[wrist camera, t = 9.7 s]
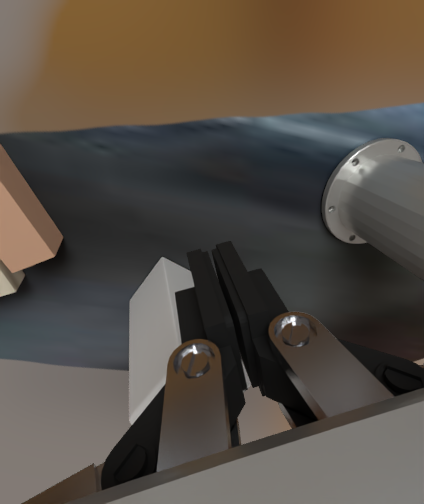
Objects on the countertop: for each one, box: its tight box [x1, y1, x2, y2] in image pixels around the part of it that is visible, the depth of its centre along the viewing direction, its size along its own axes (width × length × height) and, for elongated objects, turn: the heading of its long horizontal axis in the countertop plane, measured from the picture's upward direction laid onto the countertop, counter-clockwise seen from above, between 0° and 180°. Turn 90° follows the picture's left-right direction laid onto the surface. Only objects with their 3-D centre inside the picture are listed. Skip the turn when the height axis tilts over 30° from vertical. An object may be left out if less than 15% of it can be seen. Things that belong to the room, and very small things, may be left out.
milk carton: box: [129, 257, 251, 425], centre depth 29 cm, size 7×7×19 cm
